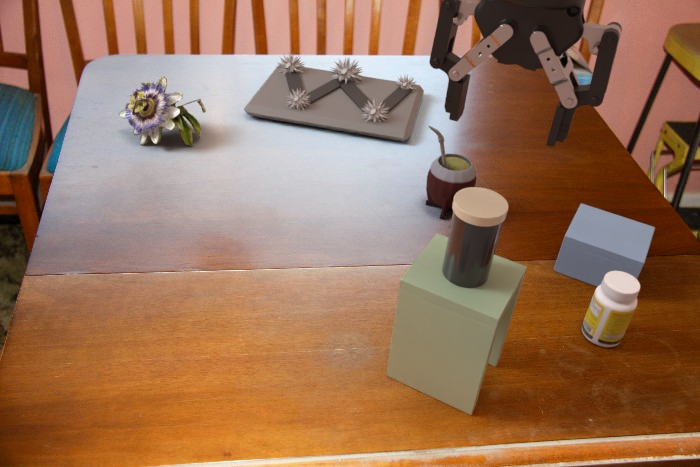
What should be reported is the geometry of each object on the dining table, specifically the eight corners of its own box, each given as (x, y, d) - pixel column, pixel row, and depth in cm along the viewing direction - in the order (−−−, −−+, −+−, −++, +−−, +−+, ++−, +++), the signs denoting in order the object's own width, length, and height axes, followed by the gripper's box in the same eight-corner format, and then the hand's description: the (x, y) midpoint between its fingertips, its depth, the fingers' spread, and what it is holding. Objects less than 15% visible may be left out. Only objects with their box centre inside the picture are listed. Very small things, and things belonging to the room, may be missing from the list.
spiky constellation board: (242, 119, 116) (240, 81, 112) (278, 72, 133) (278, 38, 129) (408, 146, 112) (413, 108, 108) (423, 95, 129) (428, 60, 125)
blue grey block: (640, 261, 91) (655, 227, 87) (628, 298, 84) (644, 263, 81) (569, 237, 94) (580, 202, 91) (552, 270, 88) (564, 235, 84)
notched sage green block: (499, 360, 74) (527, 266, 66) (471, 415, 68) (498, 319, 59) (419, 326, 78) (436, 232, 69) (385, 375, 71) (400, 279, 63)
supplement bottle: (627, 334, 79) (651, 282, 74) (611, 355, 76) (635, 302, 71) (590, 314, 82) (611, 262, 76) (573, 333, 79) (594, 281, 74)
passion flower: (149, 171, 111) (100, 114, 105) (185, 134, 117) (140, 79, 112) (189, 156, 103) (137, 94, 98) (224, 117, 110) (178, 57, 105)
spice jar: (497, 267, 65) (515, 197, 60) (480, 296, 62) (499, 224, 57) (450, 250, 67) (464, 181, 62) (432, 277, 64) (445, 206, 58)
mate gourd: (472, 201, 100) (492, 112, 91) (464, 229, 94) (483, 137, 85) (425, 190, 102) (439, 102, 93) (413, 217, 96) (428, 126, 87)
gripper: (439, -78, 46) (411, 127, 56) (649, -43, 42) (579, 172, 52) (469, -95, 52) (438, 94, 62) (657, -65, 48) (592, 132, 57)
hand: (503, 129), depth 57 cm, fingers open, 8 cm apart
